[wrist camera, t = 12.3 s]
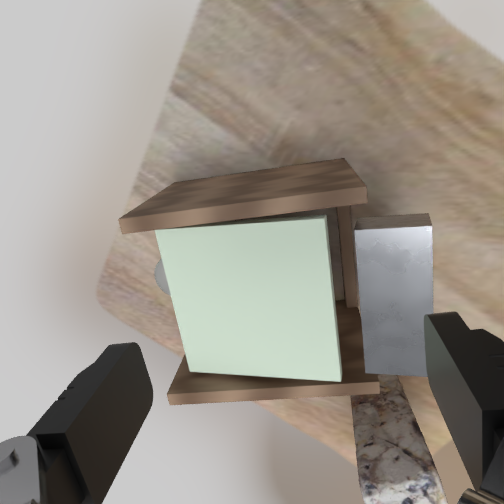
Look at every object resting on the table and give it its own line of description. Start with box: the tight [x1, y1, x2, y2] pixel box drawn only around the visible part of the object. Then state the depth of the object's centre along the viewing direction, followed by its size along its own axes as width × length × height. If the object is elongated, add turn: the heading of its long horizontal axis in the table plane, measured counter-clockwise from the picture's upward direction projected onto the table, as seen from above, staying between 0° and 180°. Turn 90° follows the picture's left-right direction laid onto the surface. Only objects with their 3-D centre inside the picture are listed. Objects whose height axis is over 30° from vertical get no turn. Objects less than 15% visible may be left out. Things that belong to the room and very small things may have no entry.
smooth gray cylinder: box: [155, 258, 171, 296], centre depth 45 cm, size 5×5×6 cm
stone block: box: [351, 374, 448, 504], centre depth 42 cm, size 13×7×20 cm, turn 28°
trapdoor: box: [155, 213, 433, 382], centre depth 33 cm, size 21×14×3 cm, turn 99°
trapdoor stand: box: [118, 158, 380, 405], centre depth 39 cm, size 18×18×15 cm
